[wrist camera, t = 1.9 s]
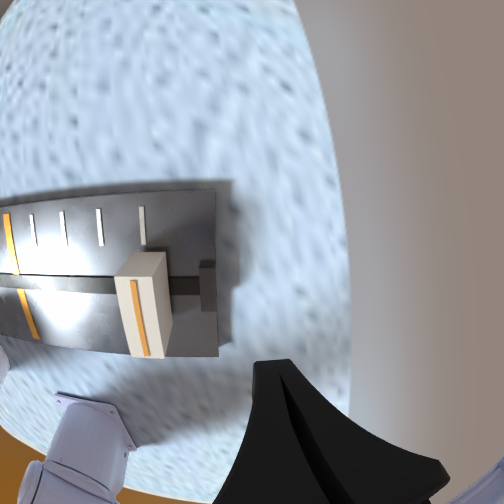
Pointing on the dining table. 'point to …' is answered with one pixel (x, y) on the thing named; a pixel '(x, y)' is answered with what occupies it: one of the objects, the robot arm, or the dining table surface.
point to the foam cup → (3, 365)
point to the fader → (145, 304)
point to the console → (107, 268)
